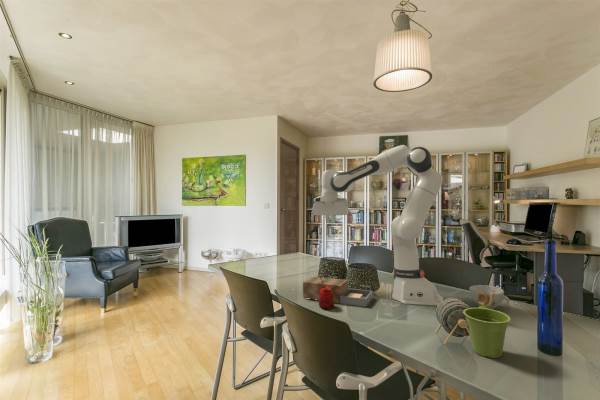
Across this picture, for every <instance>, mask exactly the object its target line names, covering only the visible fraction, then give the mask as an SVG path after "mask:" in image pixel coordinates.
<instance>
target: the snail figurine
mask: <svg viewBox="0 0 600 400" xmlns="http://www.w3.org/2000/svg"><path fill="white" fill-rule="evenodd" d="M492 292H495V291H494V290H493V291H492ZM490 296H491V297H489V296H488V295H487V294H486V293H484V292H480V293H479V294H478V299H479V301H478V303H479V304H480V305H482V306H477V308H486V309H491V308H490V307H488V306H491V305H492V303H493V300H494V296H495V295H494V294H493V293H491V294H490ZM491 310H493V309H491Z"/></svg>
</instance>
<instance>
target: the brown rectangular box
mask: <svg viewBox="0 0 600 400" xmlns="http://www.w3.org/2000/svg"><path fill="white" fill-rule="evenodd" d="M320 278H321V277H319V276H312V277H310V278H308V279H306V280H304V281H303V282H302V298H310V299H317V300H319V294H320V291H321V289H322V287H323V284H324V286H325V287H326V286H328V287H329V288H331V291H332V292H333V296H334V301H335V302H338V303H337V304H340V296H341V295H342V294H343V293H344V292H345V291H346V290H347V289H349V280H348V279H342V278H333V277H322V278H321V280H320ZM322 280H323V281H324V282H323V283H322ZM317 300H316V301H317Z"/></svg>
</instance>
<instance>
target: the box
mask: <svg viewBox="0 0 600 400" xmlns="http://www.w3.org/2000/svg"><path fill="white" fill-rule="evenodd" d="M350 293H355V294H363V298H355V297H347V296H348V295H349V294H350ZM372 298H373V299H374V291H373V290H369V289H368V290H367V289H359V288H357V289H356V288H348V289H347V290H346V291H345V292H344V293H343V294H342V295H341V296H340V303H339V305H344V304H347V305H346V306H351V305H354V306H353V307H359V306H361V308H367V307H368V306H369V305H368V304H370V303H371V302H372V301H373V299H372ZM370 301H371V302H370ZM367 305H368V306H367Z"/></svg>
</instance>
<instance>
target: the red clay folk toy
mask: <svg viewBox="0 0 600 400" xmlns="http://www.w3.org/2000/svg"><path fill="white" fill-rule="evenodd" d="M323 276H324V274H321V273H319V276H318V277H321V278H323ZM321 278H320V280H321ZM323 282H324V281H323V280H322V283H323ZM334 302H335V301H334V296H333V292H332V291H331V288H329V287H328V286H326V287H325V286H324V284H323V287H322V289H321V291H320V294H319V301H318V305H319V307H320V308H322V309H323V310H332V309H334V308H335V303H334Z"/></svg>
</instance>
